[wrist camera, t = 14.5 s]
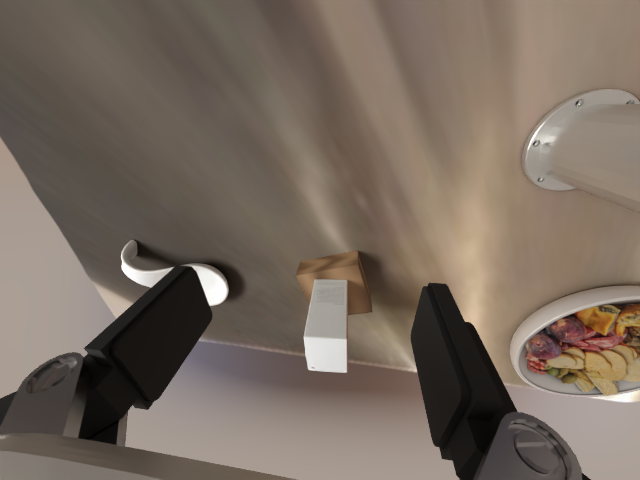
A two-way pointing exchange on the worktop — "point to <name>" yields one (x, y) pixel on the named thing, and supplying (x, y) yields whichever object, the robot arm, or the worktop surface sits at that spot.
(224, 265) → the worktop surface
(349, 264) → the tan block
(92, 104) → the worktop surface
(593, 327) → the bowl
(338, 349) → the small box
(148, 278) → the spoon rest
